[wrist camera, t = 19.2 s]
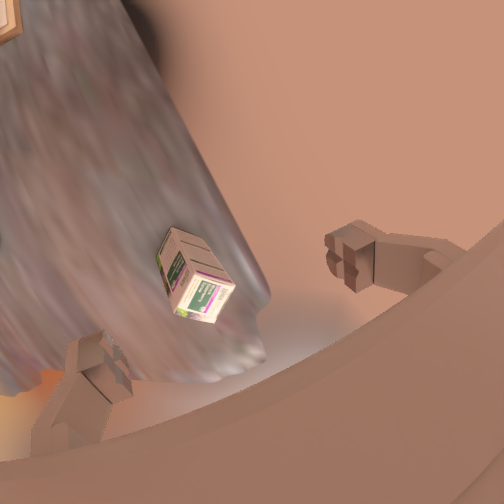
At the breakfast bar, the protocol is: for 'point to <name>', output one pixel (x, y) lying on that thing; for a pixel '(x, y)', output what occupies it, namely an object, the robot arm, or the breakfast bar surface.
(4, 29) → the wooden flat block
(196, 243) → the syrup box
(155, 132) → the breakfast bar surface
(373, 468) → the robot arm
